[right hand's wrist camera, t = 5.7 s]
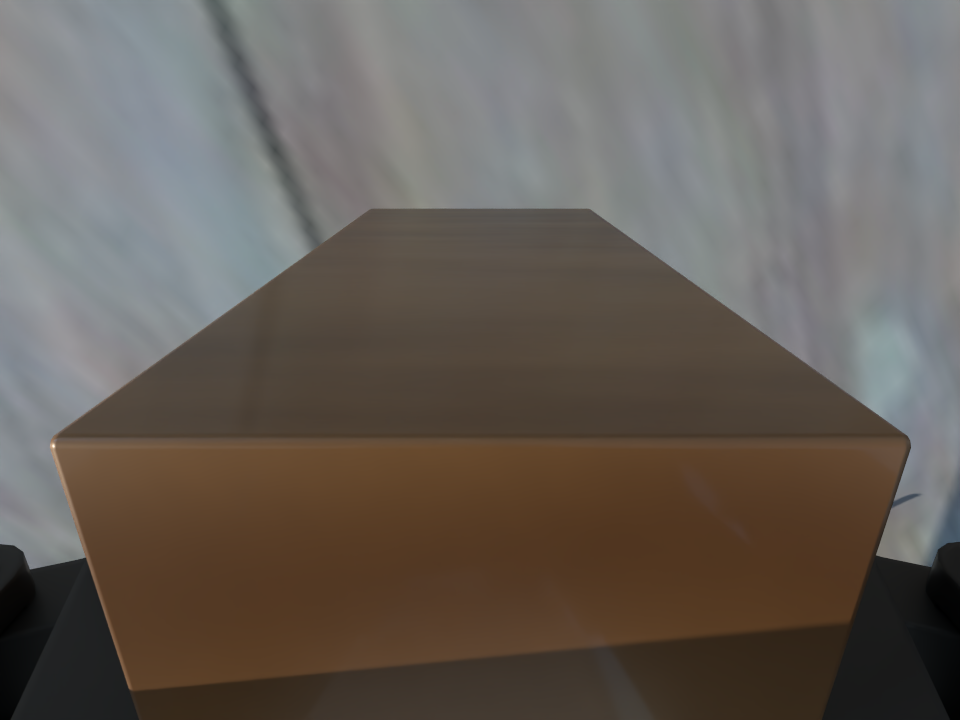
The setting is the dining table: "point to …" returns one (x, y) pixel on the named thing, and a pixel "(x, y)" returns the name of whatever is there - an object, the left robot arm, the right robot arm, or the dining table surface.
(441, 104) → the dining table surface
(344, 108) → the dining table surface
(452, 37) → the dining table surface
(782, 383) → the box
